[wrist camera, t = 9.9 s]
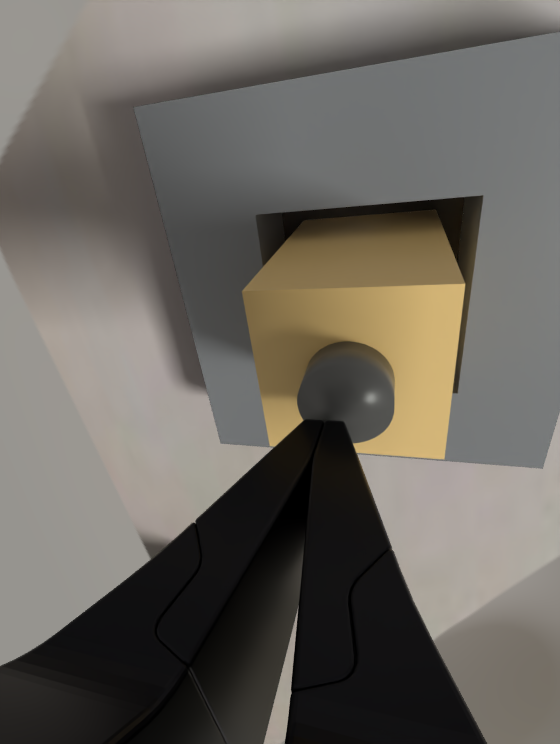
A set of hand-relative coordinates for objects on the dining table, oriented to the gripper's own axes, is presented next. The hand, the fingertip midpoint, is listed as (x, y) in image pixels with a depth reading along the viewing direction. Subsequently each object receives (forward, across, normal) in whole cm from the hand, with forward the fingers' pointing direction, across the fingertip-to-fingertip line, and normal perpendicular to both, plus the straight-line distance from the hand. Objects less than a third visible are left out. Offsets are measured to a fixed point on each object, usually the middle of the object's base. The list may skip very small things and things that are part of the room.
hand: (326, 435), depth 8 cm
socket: (+8, 0, -1) cm, 8 cm away
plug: (+8, 0, -1) cm, 8 cm away
